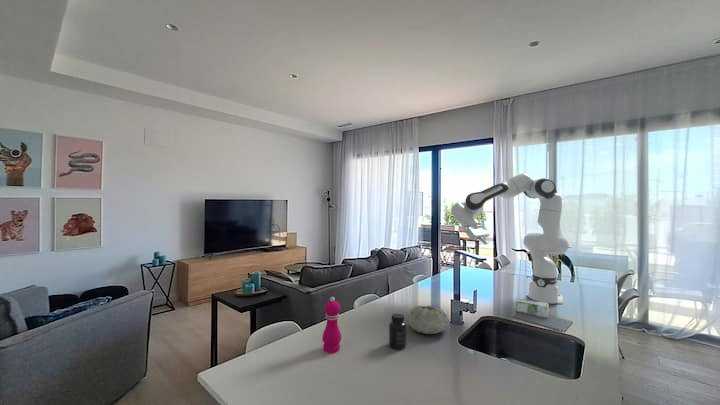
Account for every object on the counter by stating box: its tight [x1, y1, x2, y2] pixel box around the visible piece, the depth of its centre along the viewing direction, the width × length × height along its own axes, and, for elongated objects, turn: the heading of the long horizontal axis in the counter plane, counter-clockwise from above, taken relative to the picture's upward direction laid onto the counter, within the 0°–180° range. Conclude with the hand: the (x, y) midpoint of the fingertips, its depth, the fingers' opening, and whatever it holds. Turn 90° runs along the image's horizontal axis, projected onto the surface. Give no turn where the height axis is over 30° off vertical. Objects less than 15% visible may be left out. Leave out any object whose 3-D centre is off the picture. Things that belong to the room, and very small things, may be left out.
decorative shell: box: [408, 305, 451, 335], centre depth 130 cm, size 18×18×10 cm
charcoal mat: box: [511, 312, 574, 333], centre depth 144 cm, size 16×22×1 cm
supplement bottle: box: [388, 312, 407, 351], centre depth 115 cm, size 7×7×12 cm
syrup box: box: [515, 297, 550, 318], centre depth 151 cm, size 6×6×14 cm
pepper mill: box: [321, 296, 342, 354], centre depth 112 cm, size 7×7×20 cm
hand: (487, 243), depth 169 cm, fingers closed
